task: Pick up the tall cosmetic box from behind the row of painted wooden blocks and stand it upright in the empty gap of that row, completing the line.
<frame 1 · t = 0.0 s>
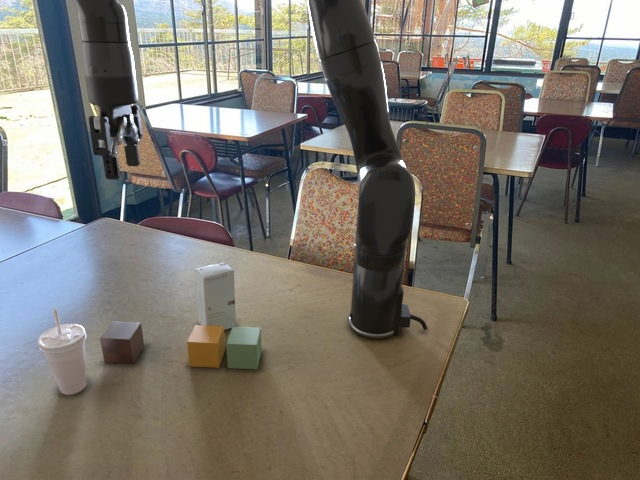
hand: (124, 172, 83), 29 cm above the table, tool pointing down, fingers open, 8 cm apart
block sage: (245, 359, 83), on the table
block ochre: (207, 357, 83), on the table
block walnut: (125, 354, 83), on the table
smoothie: (73, 387, 76), on the table
cosmetic box: (218, 326, 92), on the table
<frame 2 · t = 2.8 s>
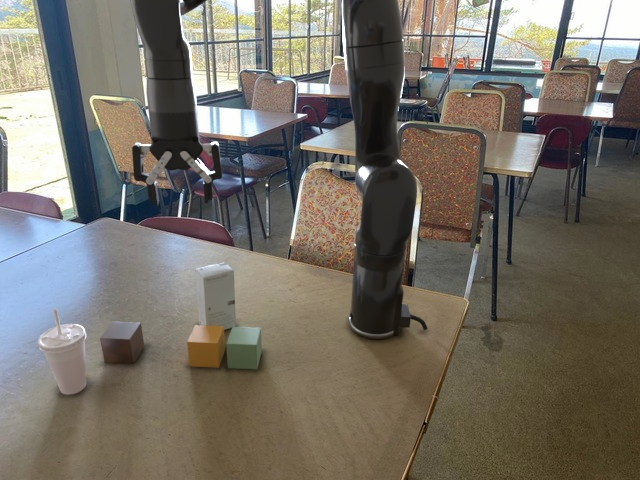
hand: (182, 203, 83), 24 cm above the table, tool pointing down, fingers open, 8 cm apart
nothing on the table moved.
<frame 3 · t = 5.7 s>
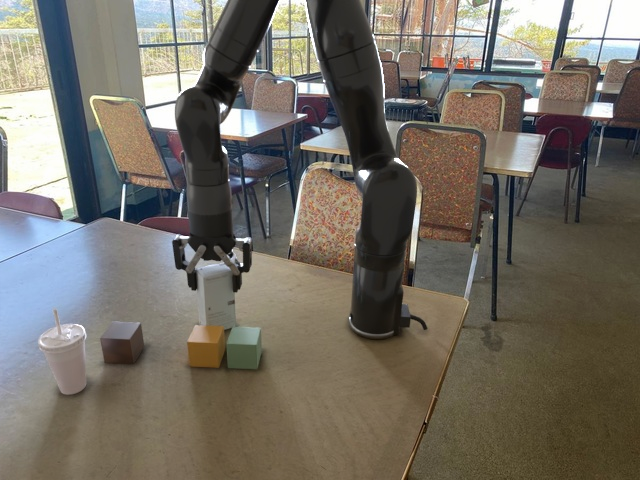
hand: (215, 289, 89), 8 cm above the table, tool pointing down, fingers closed on cosmetic box, 7 cm apart
cosmetic box: (218, 326, 92), on the table, touching gripper
everything else where it was.
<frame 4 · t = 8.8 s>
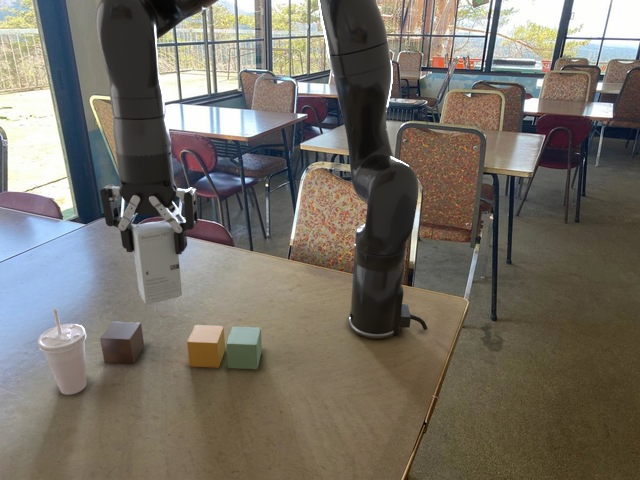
hand: (156, 251, 76), 20 cm above the table, tool pointing down, fingers closed on cosmetic box, 7 cm apart
cosmetic box: (161, 295, 79), point 12 cm above the table, touching gripper
everything else where it was.
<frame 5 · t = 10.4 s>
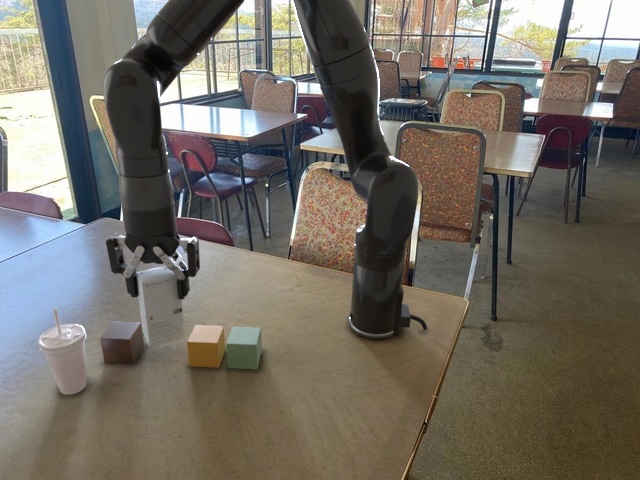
hand: (159, 296, 78), 12 cm above the table, tool pointing down, fingers closed on cosmetic box, 7 cm apart
cosmetic box: (164, 337, 82), point 4 cm above the table, touching gripper
everything else where it was.
when the fingers open (8 cm above the table, at t = 12.0 s): cosmetic box stays where it is, on the table.
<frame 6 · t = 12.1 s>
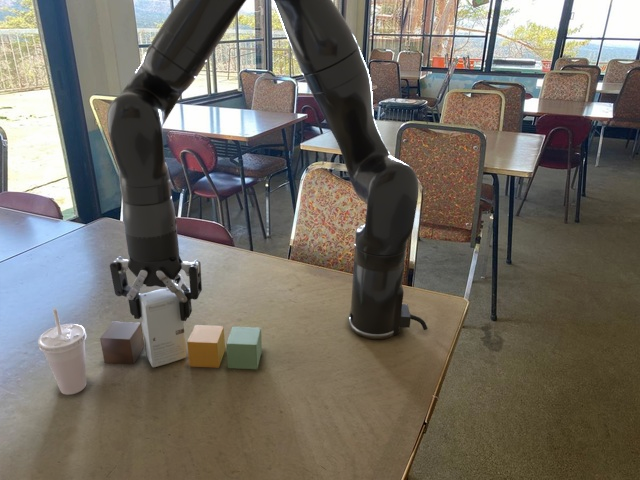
hand: (162, 317, 80), 8 cm above the table, tool pointing down, fingers open, 7 cm apart
cosmetic box: (167, 356, 83), on the table
everything else where it was.
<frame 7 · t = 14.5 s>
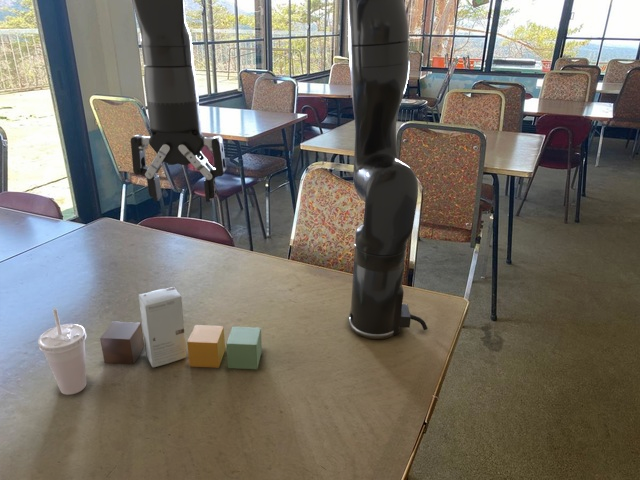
hand: (183, 199, 79), 27 cm above the table, tool pointing down, fingers open, 8 cm apart
nothing on the table moved.
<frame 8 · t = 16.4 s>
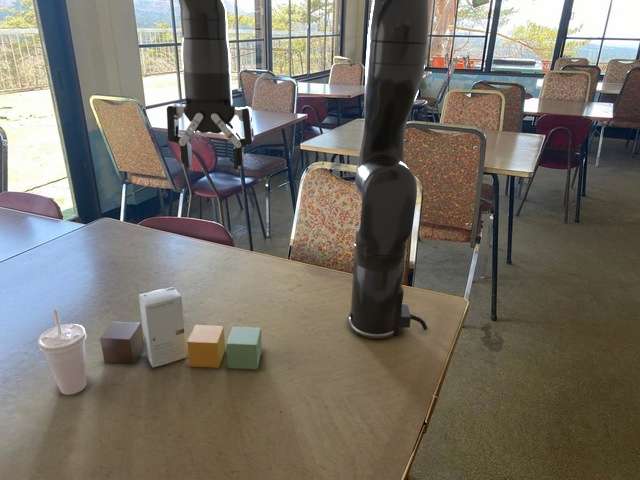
hand: (213, 167, 84), 30 cm above the table, tool pointing down, fingers open, 8 cm apart
nothing on the table moved.
at the end: cosmetic box 0.1 cm from the target spot, on the table; cosmetic box tilted 0°; block walnut moved 0.0 cm from its start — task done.
